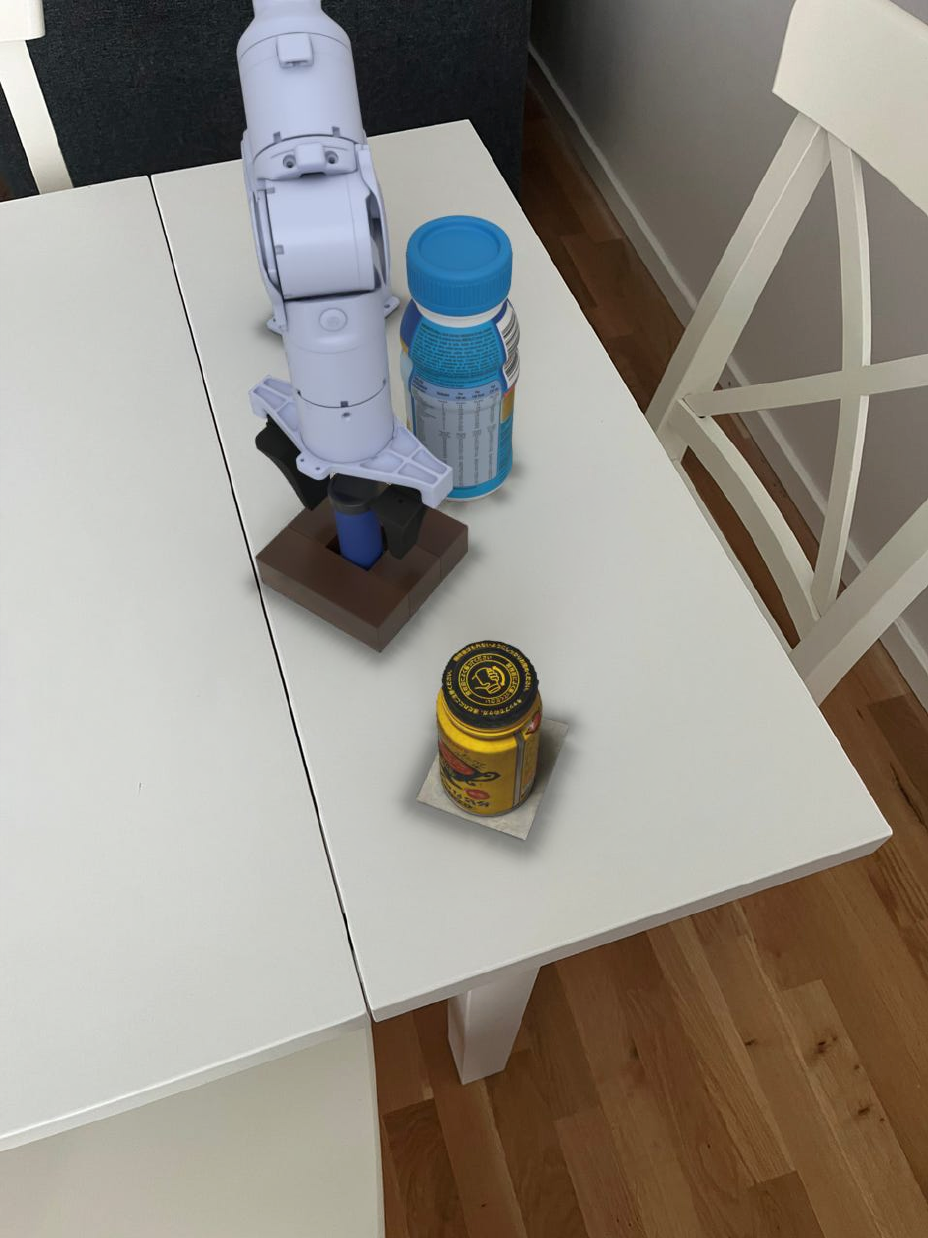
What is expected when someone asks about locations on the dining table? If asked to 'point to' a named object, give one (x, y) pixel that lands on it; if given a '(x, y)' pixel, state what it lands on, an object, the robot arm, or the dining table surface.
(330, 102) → the robot arm
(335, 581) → the holder
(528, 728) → the condiment
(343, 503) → the blue cylinder
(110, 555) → the dining table surface
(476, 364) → the beverage bottle
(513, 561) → the dining table surface
